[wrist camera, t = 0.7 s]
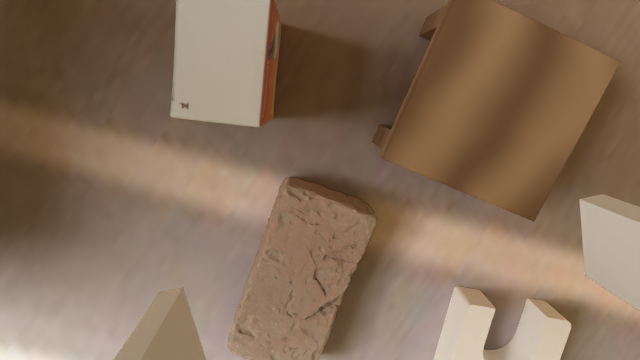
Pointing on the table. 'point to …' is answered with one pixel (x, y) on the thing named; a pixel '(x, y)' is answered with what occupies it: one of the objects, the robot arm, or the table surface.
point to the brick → (300, 272)
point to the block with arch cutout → (474, 322)
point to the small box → (225, 61)
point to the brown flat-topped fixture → (496, 104)
